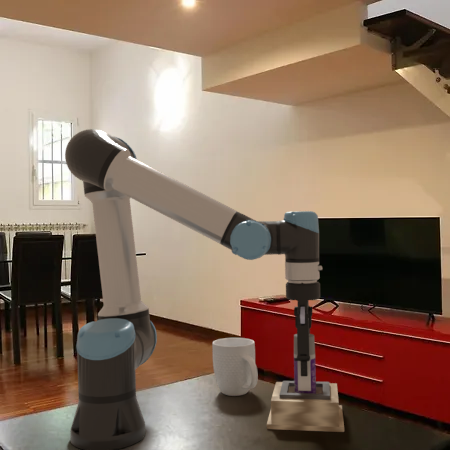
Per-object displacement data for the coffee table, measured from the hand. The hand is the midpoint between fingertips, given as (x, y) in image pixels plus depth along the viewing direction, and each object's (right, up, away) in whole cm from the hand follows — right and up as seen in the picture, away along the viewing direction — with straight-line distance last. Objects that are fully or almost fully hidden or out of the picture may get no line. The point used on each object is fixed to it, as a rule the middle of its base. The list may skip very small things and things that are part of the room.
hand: (304, 386), depth 123 cm
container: (0, -4, 0) cm, 4 cm away
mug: (-15, -8, +20) cm, 26 cm away
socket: (0, -7, 0) cm, 7 cm away
